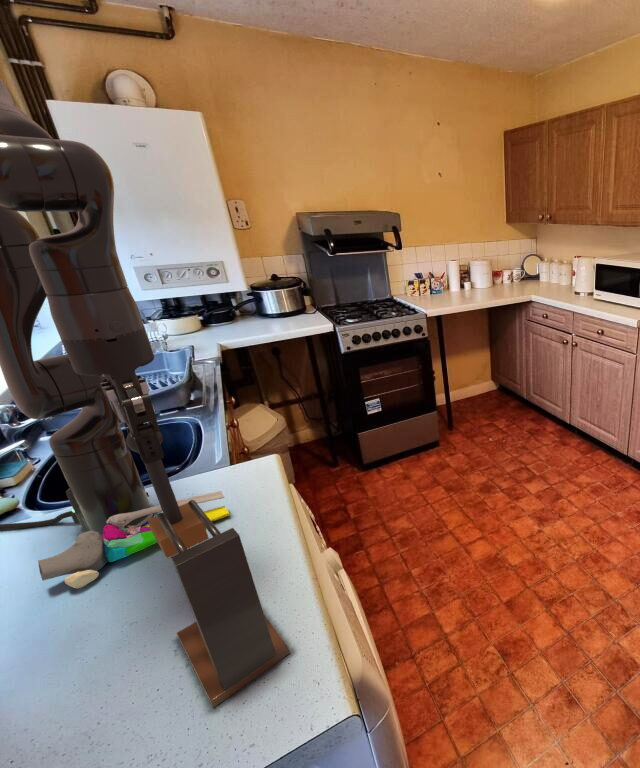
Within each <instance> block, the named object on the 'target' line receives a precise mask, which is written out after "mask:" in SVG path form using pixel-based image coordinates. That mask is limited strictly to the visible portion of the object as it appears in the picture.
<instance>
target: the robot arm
mask: <svg viewBox="0 0 640 768" xmlns="http://www.w3.org/2000/svg"><path fill="white" fill-rule="evenodd" d="M114 204H115V185H114V179H113V174H112V171H111V169H110V167H109V166H108V164H107V162H106V161H105V160H104V158H103V157H102V156H101V155H100V154H99V152H97V151H96V150H95V149H93V147H90V146H89V145H87V144H85V143H83V142H80V141H75V140H66V139H57V138H53V137H52V136H51V135H50V134H49V132H47V131H46V130H45V129H44V128H43V127H42V126H40V125H39V124H38V123H37V122H36V121H34V120H33V118H31V117H30V116H28V115H27V114H26V113H25V112H24V110H23V109H22V107H21V106H20V104H19V102H18V101H17V99H16V97H15V96H14V95H13V93H12V91H11V90H10V89H9V87H8V86H7V83H5V81H4V80H3V78H2V77H1V76H0V369H1V372H2V375H3V378H4V381H5V383H6V386H7V388H8V392H9V394H10V396H11V398H12V400H13V401H14V403H15V405H16V406H17V409H19V410H20V412H21V413H22V414H23V415H24V416H26V417H27V418H29V419H32V420H42V419H47V418H51V417H55V416H58V415H62V414H66V413H68V412H72V411H75V410H79V409H80V411H79V413H77V415H76V416H75V417H74V418H73V419H72V420H70V421H69V422H68V423H67V424H65V425H64V426H62V427H60V428H59V429H58V430H56V431H55V432H54V433H52V434H51V436H50V437H49V440H48V444H49V447H50V449H51V451H52V453H53V456H54V457H55V459H56V461H57V465H58V466H59V469H60V470H61V472H62V474H63V476H64V479H65V480H66V483H67V485H68V487H69V488H68V489H67V490H65V495H66V497H67V499H68V501H69V503H70V505H71V507H72V510H69V511H66V512H62V513H60V514H58V515H57V516H55V517H53V518H50V519H45V520H39V521H30V522H29V521H28V522H12V523H0V530H13V529H15V530H16V529H29V528H39V527H40V528H41V527H45V526H50V525H56V524H58V523H59V522H61V521H62V520H65V519H67V518H72V520H73V522H74V525H80V527H81V528H82V531H83V533H84V532H87V531H95V532H99V533H100V534H101V535H102V537H103V533H104V532H103V531H104V527H105V526H106V525H107V523H106V522H107V520H108V519H109V518H110V517H111V516H114V515H117V514H123V513H131V512H135V511H140V510H143V509H147V508H150V507H153V506H152V505H151V502H150V495H149V492H147V491H146V489H145V486H144V483H143V481H142V478H141V476H140V473H139V470H138V468H137V466H136V463H135V460H134V457H133V455H132V453H131V449H130V448H129V447H128V445H127V442H126V437H125V435H124V432H123V429H122V427H124V428H125V429H126V432H127V435H128V434H129V433H130V436H131V437H133V439H134V441H135V443H136V446H137V448H138V451H139V453H138V454H139V457H140V459H141V461H142V462H143V464H144V463H145V464H149V463H152V462H155V461H158V460H163V459H164V458H165V453H164V451H163V448H162V446H161V445H160V442H159V439H158V436H157V434H156V433H159V432H161V431H160V430H161V428H160V425H159V424H158V419H157V416H156V410H155V407H154V405H153V402H152V400H153V398H152V396H151V395H150V394H149V393H150V387H149V385H148V382H147V380H146V379H145V378H143V377H142V375H141V374H136V370H137V369H138V368H140V367H145V366H147V365H149V364H151V363H152V362H153V361H154V359H155V354H154V351H153V348H152V345H151V342H150V339H149V337H148V334H147V330H146V328H145V324H144V322H143V318H142V315H141V313H140V309H139V307H138V304H137V302H136V300H135V298H134V297H133V295H132V292H131V290H130V288H129V284H128V282H127V279H126V276H125V272H124V269H123V268H122V265H121V262H120V259H119V255H118V252H117V246H116V238H115V227H114V209H115V205H114ZM20 212H21V213H22V212H24V213H25V212H26V213H27V212H28V213H38V212H39V213H40V212H41V213H43V212H45V213H46V212H77V214H78V219H77V222H76V225H75V226H74V228H72V229H71V230H68V231H66V232H62V233H61V232H60V233H57V234H51V235H47V236H42V237H41V236H40V233H39V232H38V230H37V228H36V227H34V225H33V224H32V223H31V222H30V221H29V220H28V219H27V218H26V217H25V216H24V215H22V214H21V213H20ZM46 299H47V303H48V305H49V306H48V307H49V312H50V315H51V318H52V321H53V323H54V326H55V329H56V330H57V334H58V335H59V338H60V340H61V342H62V345H63V347H64V350H65V352H66V353H64V354H60V355H55V356H51V357H46V358H41V359H36V360H34V357H33V350H32V338H33V337H32V336H33V331H34V327H35V324H36V321H37V318H38V316H39V314H40V312H41V309H42V308H43V305H44V303H45V301H46ZM121 426H122V427H121ZM140 426H144V427H140ZM137 427H140V428H137ZM145 464H144V465H145ZM154 514H155V513H152V514H148V515H145V516H141V517H139V518H136V519H134V520H132V521H131V522H129V523H128V524H127V525H125V526H124V528H129V527H128V526H135V527H143V526H145V524H147V523H148V519H149V518H152V517H154ZM108 525H111V524H108ZM121 527H122V526H121Z"/></svg>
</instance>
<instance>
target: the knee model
mask: <svg viewBox="0 0 640 768" xmlns="http://www.w3.org/2000/svg"><path fill="white" fill-rule="evenodd" d="M222 499H225V496H224V494H223V492H222V490H219V491H213V492H209V493H205V494H200V495H195V496H190V497H187V498H183V499H179V500H176V501H177V504H178V506H181V505H184V504H186V503H188V502H189V501H190V500H194V501H195V502H196V503H197V504H202V503H206V502H212V501H217V500H222ZM161 512H163V511H162V509H161V506H160V504H158V505H155V506H152V507H150V508H147V509H143V510H140V511H135V512H131V513H123V514H117V515H114V516H111V517H110V518H109V519H108V520H107V522H106V523H107V525H106V526H105V527H104V531H103V532H104V533H103V537H102V535H101V534H100V533H99V532H95V531H87V532H84V531H83V532H81V533H79V535H78V536H77V537H76V539H75V541H74V543H73V544H72V545H71V546H70V547H68V548H67V549H65V550H64V551H61V553H59V554H55V555H53V556H50V557H47V558H43V559H39V560H37V562H38V569H39V575H40V578H41V580H42V581H47V580H51V579H55V578H58V577H62V576H67V575H68V576H67V577H65V578H64V579H63V581H64V583H65V584H66V585H67V586H69V587H71V588H73V589H81V588H84V587H86V586H87V585H88V584H90V583H91V582H93V581H95V580H96V579H97V578H98V577H99V576H100V572H99V570H100V569H102V568H103V567H104V566H105V565H106V564H107V563H108V562H109V563H113V562H117V561H119V560H122V559H124V558H126V557H129V556H130V555H133V554H135V553H137V552H139V551H142V550H145V549H147V548H148V547H151V546H152V545H153V546H154V545H155V544H158V542H157V541H156V539H155V537H154V535H153V533H152V530H151V528H150V525H149V524H148V525H143V526H141V527H135V526H128V527H129V528H124V526H125V525H127V524H128V523H129V522H131V521H132V520H134V519H136V518H139V517H141V516H145V515H148V514H152V513H154V514H155V513H161ZM203 512H204V513H205V514H206V515H207V517H208V518H209V519H210V520H211V522H212V523H213V522H215V521H219V520H222V519H224V518H227V517H229V516H230V511H229V510H228V509H227V508H226V506H225V505H222V506H219V507H215V508H212V509H208V510H205V511H204V510H203ZM108 524H111V525H108ZM121 526H122V527H121Z"/></svg>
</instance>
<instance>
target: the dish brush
mask: <svg viewBox="0 0 640 768" xmlns="http://www.w3.org/2000/svg"><path fill="white" fill-rule="evenodd" d="M140 427H144V426H140ZM140 427H137V428H140ZM156 434H157V436H158V439H159V442H160V445H161V444H162V443H163V434H162V432H161V431H160V432H159V433H156ZM125 440H126V442H127V445H128V447H129V450H130V451H133V452H134V453H137V454H139V451H138V448H137V446H136V443H135V441H134V439H133V437H131V436H130V433H129V434H128V433H127V436H126V438H125ZM143 464H144V466H145V467H144V468H145V469H146V472H147V474H148V476H149V480H150V483H151V485H152V487H153V491H154V492H155V496H156V498H157V501H158V504H159V505H160V506H161V509H162V511H161V512H162V513H164V515H165V516H166V518H167V519H168V521H169V522H170V524H171V525H172V527H173V528H174V530H175V531H176V533H177V535H178V536H179V538H180V539H181V541H182V542H183V544H184V545H185V547H186V548H187V549H189V548H191V547H193V546H195V545H197V544H199V543H202V542H204V541H206V540H208V539H210V537H209V534H208V532H207V528H206V527H205V526H204V525H203V523H202V522H201V521H200V519H199V518H198V517H197V515H196V514H195V513H194V512H193V510H192V509H191V508H190V506H189V505H188V503H186V504H184V505H181V506H178V504H177V501H178V500H177V498H176V495H175V493H174V490H173V488H172V485H171V481H170V480H169V477H168V473H167V470H166V468H165V465H164V463H163V459H161V460H158V461H155V462H152V463H149V464H145V463H144V462H143ZM156 516H157V515H153V516H152V518H149V519H148V522H147V523H148V525H150V528H151V530H152V533H153V535H154V537H155V539H156V541H157V544H158V546H159V548H160V549H161V551H162V553H163V554H164V556H165V558H166V559H169V558H171V557H172V556H174V555H176V554H178V551H177V550H176V548H175V546H174V545H173V543H172V542H171V540H170V538H169V537H168V535H167V534H166V532H165V530H164V529H163V527H162V526H161V524H160V522H159V521H158V519H157V518H156Z"/></svg>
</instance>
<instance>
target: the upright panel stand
mask: <svg viewBox="0 0 640 768" xmlns="http://www.w3.org/2000/svg"><path fill="white" fill-rule="evenodd" d="M188 505H189V506H190V508H191V509H192V510H193V512H194V513H195V514H196V515H197V517H198V518H199V519H200V521H201V522H202V523H203V525H204V526H205V529H206V531H208V533H209V534H210V535H211V537H209V539H207V540H205V541H203V542H201V543H198V544H196V545H194V546H192V547H190V548H188V549H187V548H186V547H185V545H184V544H183V542H182V541H181V539H180V538H179V536H178V535H177V533H176V531H175V530H174V528H173V527H172V525H171V524H170V522H169V521H168V519H167V518H166V516H165V515H164V513H163V512H157V514H156V515H155V516H156V518H157V519H158V521H159V522H160V524H161V526H162V527H163V529H164V530H165V532H166V534H167V535H168V537H169V538H170V540H171V542H172V543H173V545H174V546H175V548H176V550H177V551H178V553H177V554H175V555H173V556H171V557H170V559H171V561H172V564H173V566H174V569H175V571H176V573H177V576H178V577H177V578H178V579H179V582H180V585H181V587H182V590H183V592H184V595H185V597H186V600H187V603H188V605H189V608H190V610H191V612H192V616H193V618H194V620H195V622H193V623H191V624H190V625H188V626H187V627H185V628H183V629H180V630H179V631H178V632H176V635H177V638H178V640H179V642H180V644H181V646H182V648H183V650H184V652H185V654H186V656H187V658H188V660H189V662H190V664H191V666H192V668H193V670H194V673H195V674H196V676H197V678H198V680H199V682H200V684H201V686H202V689H203V690H204V692H205V694H206V696H207V699H208V701H209V702H210V704H211V707H212V708H215V707H217V706H218V705H219V704H221V703H222V702H224V701H225V700H227V699H229V698H230V697H231V696H232V695H234V694H235V693H237V692H238V691H239V690H240V689H241V690H242V688H244V687H245V686H246V685H248V684H249V683H250V682H252V681H254V680H255V679H256V678H258V677H259V676H260V675H262V674H263V673H264V672H266V671H267V670H268V669H270V668H271V667H273V666H274V665H276V664H277V663H278V662H280V661H281V660H283V659H284V658H286V657H287V656H288V655H289V654H291V652H290V648H289V646H288V644H287V643H286V642H285V640H284V639H283V638H282V637H281V635H280V634H279V632H278V631H277V630H276V628H275V627H274V626H273V624H272V623H271V622H270V620H269V619H268V618H267V616H266V615H265V614H264V609H263V607H262V603H261V601H260V600H261V599H260V598H259V594H258V591H257V588H256V584H255V581H254V578H253V575H252V571H251V568H250V566H249V561H248V559H247V555H246V552H245V550H244V546H243V543H242V539H241V536H240V534H239V533H238V532H237V531H236V530H235V528H234V527H231V528H229V529H227V530H225V531H223V532H220V530H219V529H218V528H217V526H216V525H215V524H214V523H213V521H212V522H211V520H210V519H209V518H208V517H207V515H206V514H205V513H204V510H203V509H202V508H201V507H200V505H199V503H196V502H195V501H194V500H190V501H189V502H188Z"/></svg>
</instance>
